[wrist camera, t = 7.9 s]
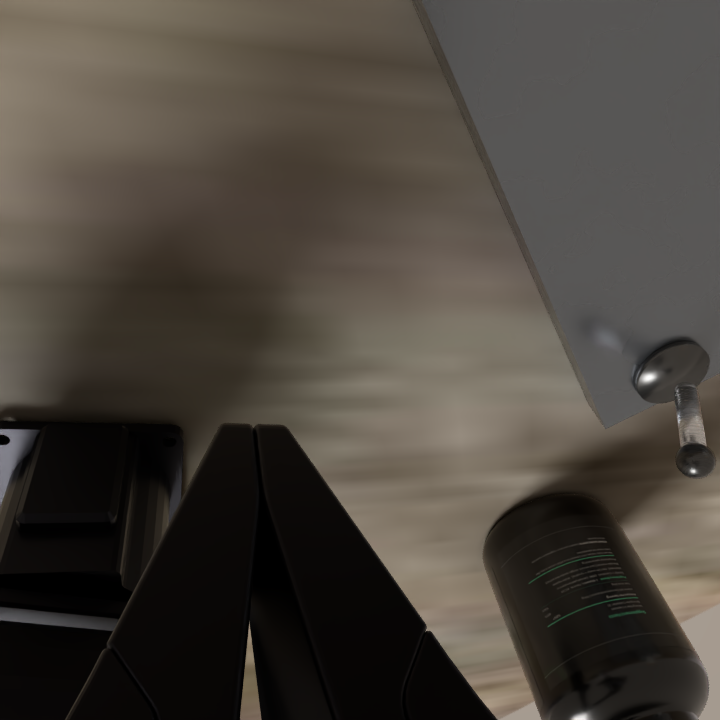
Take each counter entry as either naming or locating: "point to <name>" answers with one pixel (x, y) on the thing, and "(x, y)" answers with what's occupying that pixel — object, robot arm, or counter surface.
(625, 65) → the console
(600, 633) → the supplement bottle
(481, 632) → the counter surface
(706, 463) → the toggle lever
